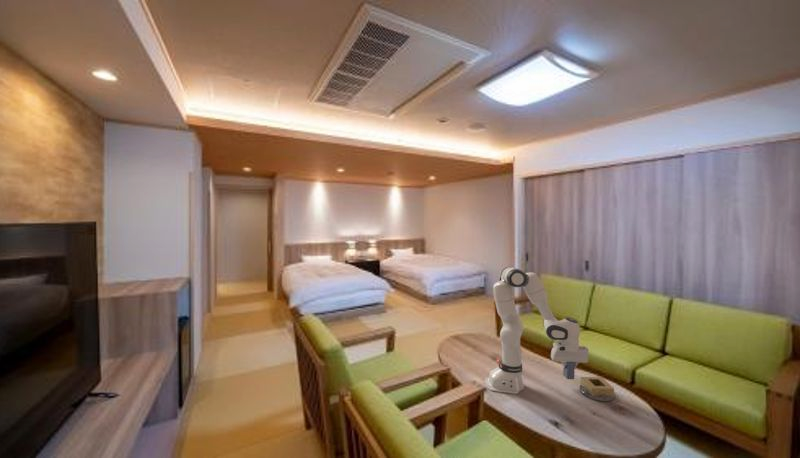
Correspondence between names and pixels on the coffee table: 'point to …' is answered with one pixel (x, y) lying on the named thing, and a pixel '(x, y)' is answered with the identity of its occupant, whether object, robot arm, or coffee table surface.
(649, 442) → the coffee table surface
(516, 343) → the robot arm
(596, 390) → the rosette plate
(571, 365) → the grey rectangular block
